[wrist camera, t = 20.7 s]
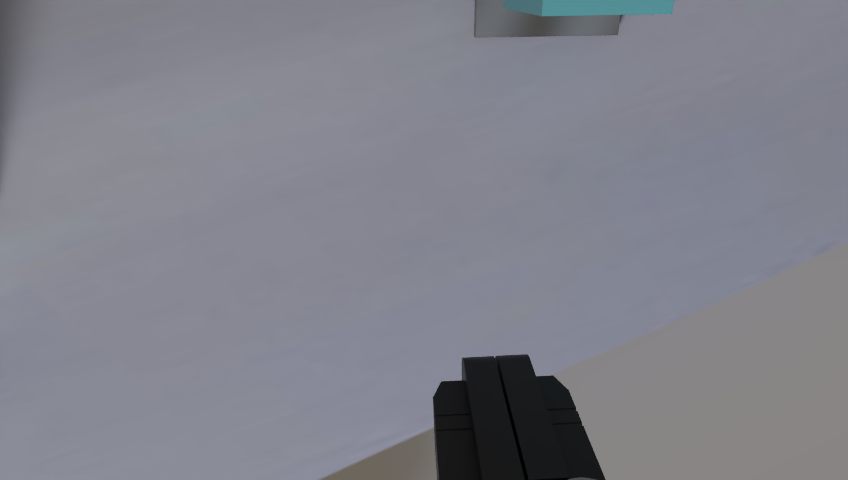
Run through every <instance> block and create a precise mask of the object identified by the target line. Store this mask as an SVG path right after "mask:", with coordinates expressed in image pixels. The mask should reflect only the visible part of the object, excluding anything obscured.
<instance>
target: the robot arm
mask: <svg viewBox="0 0 848 480" xmlns="http://www.w3.org/2000/svg"><path fill="white" fill-rule="evenodd" d="M433 407H434V431H435V432H434V433H435V452H436V453H435V454H436V468H437V480H605V477H604V475H603V473H602V470H601V468H600V465H599V463H598V460H597V458H596V456H595V453H594V451H593V448H592V446H591V443H590V441H589V439H588V436H587V434H586V431H585V429H584V426H582V422H581V419H580V417H579V414H578V412H577V411H576V407H575V405H574V402H573V400H572V397H571V395H570V393H569V390H568V389H567V388H566V387H564V386H563V385H562V384H561V383H560V382H559V381H558V380H557V379H556V378H555V377H554V376H537V377H536V375H535V372H534V369H533V366H532V364H531V361H530V358H529V356H528V355H527V354H525V355H505V356H496V357H495V358H494V356H488V357H469V358H462V381H443V382H441V383H440V385H439V387H438V389H437V391H436V393H435V395H434V397H433Z"/></svg>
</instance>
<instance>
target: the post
mask: <svg viewBox="0 0 848 480" xmlns="http://www.w3.org/2000/svg"><path fill="white" fill-rule="evenodd" d="M504 2H505V0H475V26H474V36H475V37H533V36H590V35H618V30H619V22H620V15H585V16H538V15H534V14H529V13H524V12H520V11H515V10H511V9H506V8H504Z"/></svg>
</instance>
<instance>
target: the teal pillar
mask: <svg viewBox="0 0 848 480" xmlns="http://www.w3.org/2000/svg"><path fill="white" fill-rule="evenodd" d="M673 4H674V0H505V2H504V8H506V9H511V10H515V11H520V12H524V13H529V14H534V15H538V16H585V15H638V14H672V11H673Z"/></svg>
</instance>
